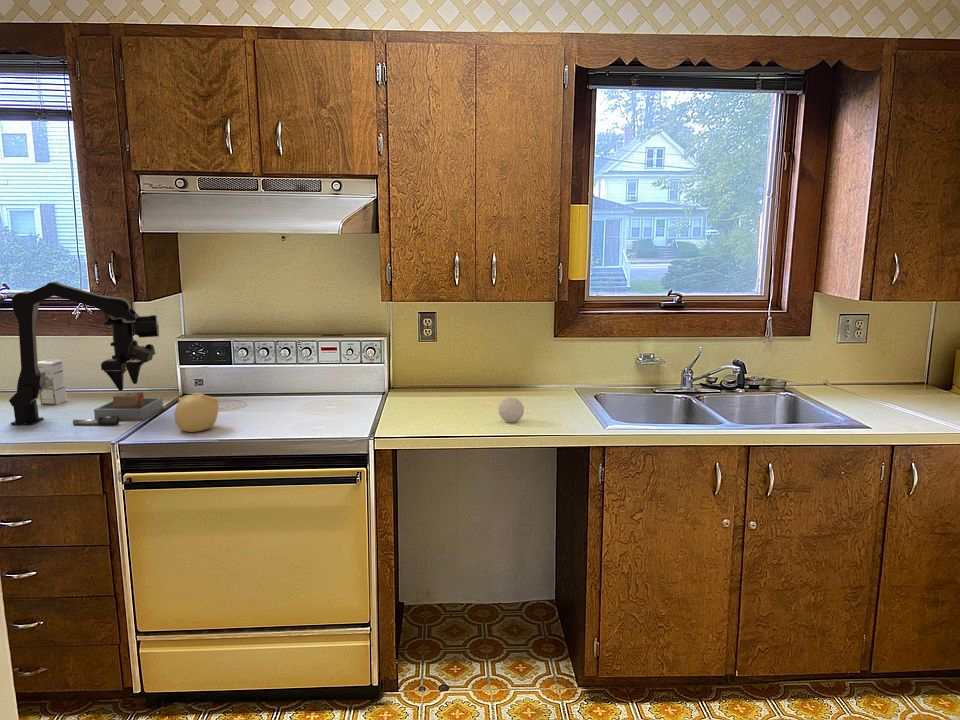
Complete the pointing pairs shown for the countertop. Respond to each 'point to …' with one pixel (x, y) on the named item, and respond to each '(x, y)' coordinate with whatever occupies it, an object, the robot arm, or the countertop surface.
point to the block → (129, 400)
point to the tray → (130, 410)
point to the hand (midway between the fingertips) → (128, 387)
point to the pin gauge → (99, 421)
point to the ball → (511, 410)
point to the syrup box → (52, 382)
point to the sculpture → (196, 412)
